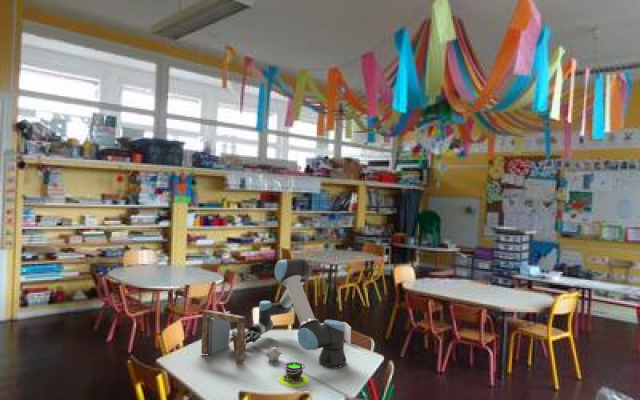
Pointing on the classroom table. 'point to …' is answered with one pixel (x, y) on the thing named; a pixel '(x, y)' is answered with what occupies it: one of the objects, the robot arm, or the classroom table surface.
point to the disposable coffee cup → (236, 338)
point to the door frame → (227, 317)
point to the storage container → (346, 332)
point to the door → (218, 334)
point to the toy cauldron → (293, 375)
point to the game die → (273, 354)
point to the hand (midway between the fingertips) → (235, 341)
